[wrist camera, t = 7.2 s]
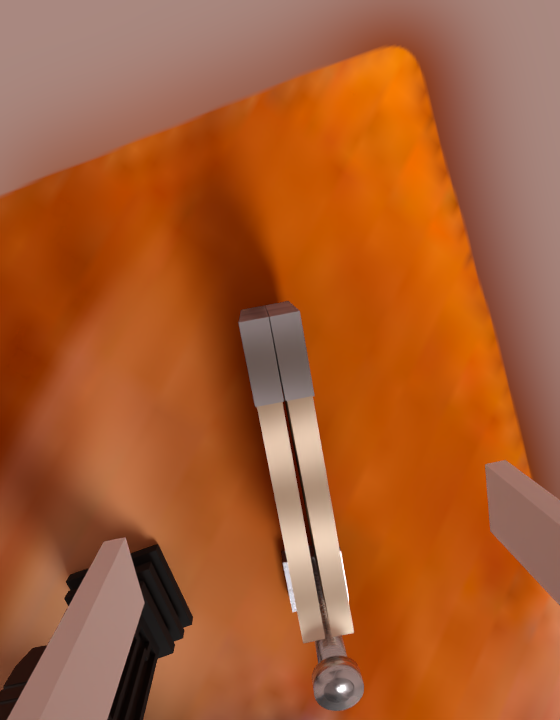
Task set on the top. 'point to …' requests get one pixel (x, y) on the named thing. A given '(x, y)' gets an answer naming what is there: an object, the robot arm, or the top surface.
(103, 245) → the top surface
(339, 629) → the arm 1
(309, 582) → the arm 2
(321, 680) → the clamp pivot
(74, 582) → the chess piece
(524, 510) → the robot arm
